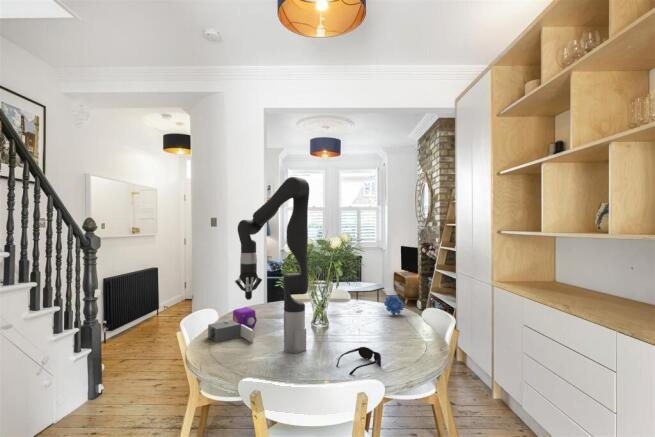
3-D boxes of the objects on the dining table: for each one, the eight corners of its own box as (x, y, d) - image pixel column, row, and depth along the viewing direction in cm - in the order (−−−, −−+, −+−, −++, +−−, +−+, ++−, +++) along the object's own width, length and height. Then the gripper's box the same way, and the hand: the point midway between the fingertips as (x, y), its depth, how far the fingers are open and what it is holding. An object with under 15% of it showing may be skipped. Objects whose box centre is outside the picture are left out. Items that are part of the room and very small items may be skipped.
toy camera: (246, 332, 175) (246, 313, 176) (229, 327, 184) (229, 309, 184) (262, 327, 184) (262, 308, 184) (245, 323, 192) (245, 305, 192)
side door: (243, 335, 171) (243, 324, 171) (254, 341, 161) (254, 330, 161) (240, 335, 170) (240, 324, 170) (251, 342, 160) (251, 330, 160)
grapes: (385, 316, 206) (385, 296, 206) (383, 313, 213) (383, 293, 213) (405, 316, 206) (404, 296, 206) (402, 313, 213) (402, 293, 213)
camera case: (240, 336, 170) (240, 322, 170) (214, 342, 161) (214, 328, 161) (231, 331, 177) (231, 318, 177) (205, 337, 168) (205, 323, 168)
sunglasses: (386, 367, 133) (386, 354, 134) (354, 378, 124) (354, 364, 124) (362, 356, 145) (362, 344, 145) (332, 365, 135) (332, 353, 135)
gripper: (259, 260, 170) (259, 296, 169) (232, 262, 163) (232, 299, 163) (264, 262, 163) (264, 299, 163) (236, 263, 156) (236, 302, 156)
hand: (248, 299), depth 163 cm, fingers closed
